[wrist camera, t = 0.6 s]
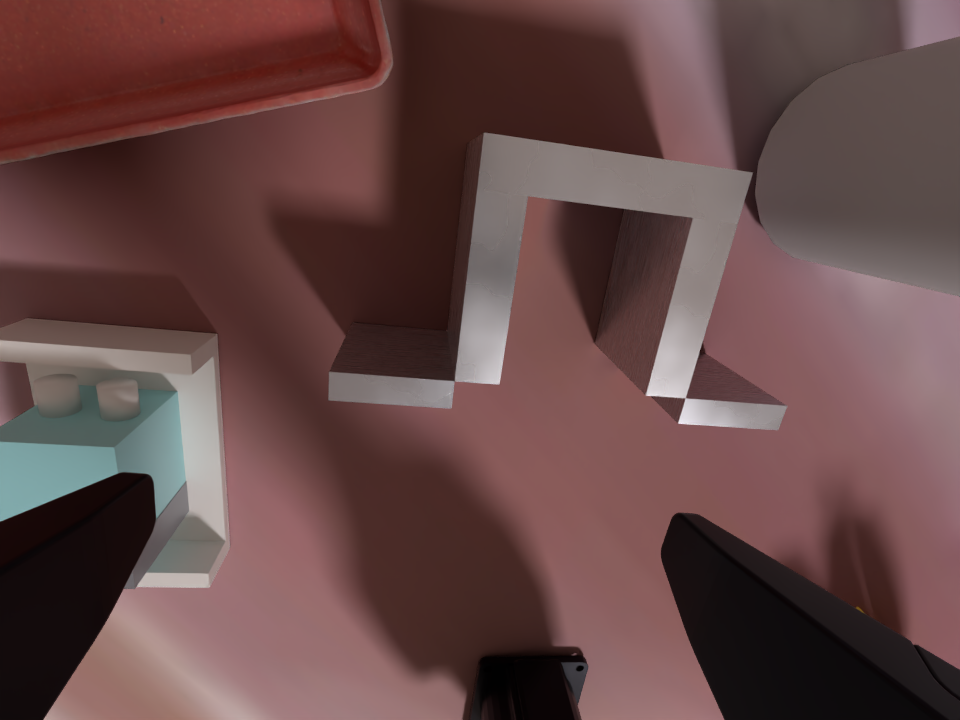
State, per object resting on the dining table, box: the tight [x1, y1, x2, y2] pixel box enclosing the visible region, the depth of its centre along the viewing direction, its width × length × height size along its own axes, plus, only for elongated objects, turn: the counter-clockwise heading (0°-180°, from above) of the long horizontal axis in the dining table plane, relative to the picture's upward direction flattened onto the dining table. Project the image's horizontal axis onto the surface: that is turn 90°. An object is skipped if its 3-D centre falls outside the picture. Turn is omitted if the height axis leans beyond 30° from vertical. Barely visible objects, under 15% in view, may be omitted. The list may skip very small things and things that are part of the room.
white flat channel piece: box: [0, 318, 230, 588], centre depth 20 cm, size 11×7×2 cm, turn 173°
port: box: [328, 132, 787, 430], centre depth 18 cm, size 8×16×6 cm, turn 83°
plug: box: [0, 374, 189, 589], centre depth 19 cm, size 7×4×4 cm, turn 173°
